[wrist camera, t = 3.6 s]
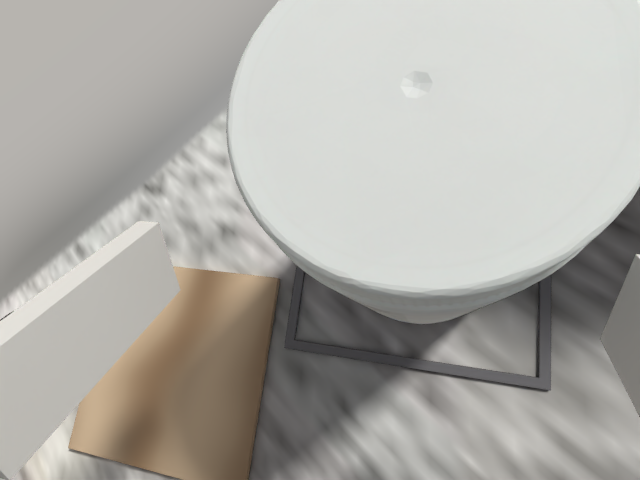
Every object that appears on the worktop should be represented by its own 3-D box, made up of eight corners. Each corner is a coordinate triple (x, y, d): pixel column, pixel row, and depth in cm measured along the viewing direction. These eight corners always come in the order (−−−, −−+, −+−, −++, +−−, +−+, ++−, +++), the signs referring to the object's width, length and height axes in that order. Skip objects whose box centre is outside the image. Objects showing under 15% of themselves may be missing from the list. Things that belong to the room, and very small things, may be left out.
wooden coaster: (280, 279, 23) (278, 278, 23) (246, 493, 21) (243, 496, 21) (120, 261, 27) (116, 260, 26) (73, 446, 24) (68, 448, 24)
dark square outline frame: (550, 134, 22) (551, 133, 22) (549, 390, 19) (550, 390, 19) (317, 133, 25) (316, 132, 25) (285, 347, 22) (284, 347, 22)
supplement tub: (480, 149, 22) (592, -157, 8) (530, 308, 20) (810, 244, 6) (323, 187, 24) (203, -14, 10) (349, 338, 21) (234, 343, 8)
